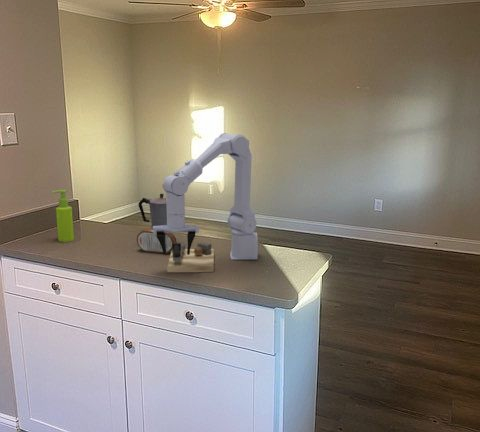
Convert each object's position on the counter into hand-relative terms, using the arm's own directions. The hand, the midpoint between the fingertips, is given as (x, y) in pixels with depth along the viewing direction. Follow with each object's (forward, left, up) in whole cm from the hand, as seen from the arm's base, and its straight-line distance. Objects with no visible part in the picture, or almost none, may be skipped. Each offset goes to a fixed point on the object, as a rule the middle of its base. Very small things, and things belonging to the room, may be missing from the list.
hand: (176, 253), depth 160 cm
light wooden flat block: (-5, -9, -6) cm, 11 cm away
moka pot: (+9, -31, -6) cm, 33 cm away
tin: (+9, -21, -6) cm, 24 cm away
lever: (0, -8, -4) cm, 8 cm away
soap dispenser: (+47, -38, -6) cm, 61 cm away
